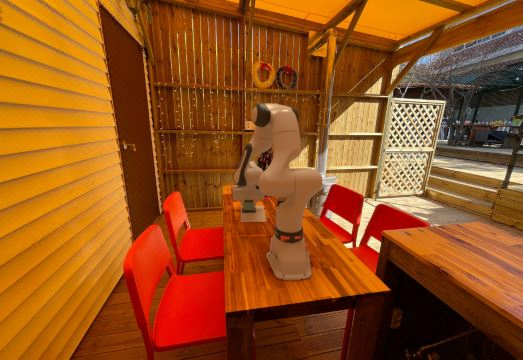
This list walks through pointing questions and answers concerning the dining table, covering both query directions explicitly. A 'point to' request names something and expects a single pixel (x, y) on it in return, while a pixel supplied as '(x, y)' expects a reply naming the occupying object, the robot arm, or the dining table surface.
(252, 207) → the collar
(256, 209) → the post board
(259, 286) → the dining table surface
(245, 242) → the dining table surface
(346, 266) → the dining table surface
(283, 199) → the ammunition clip
